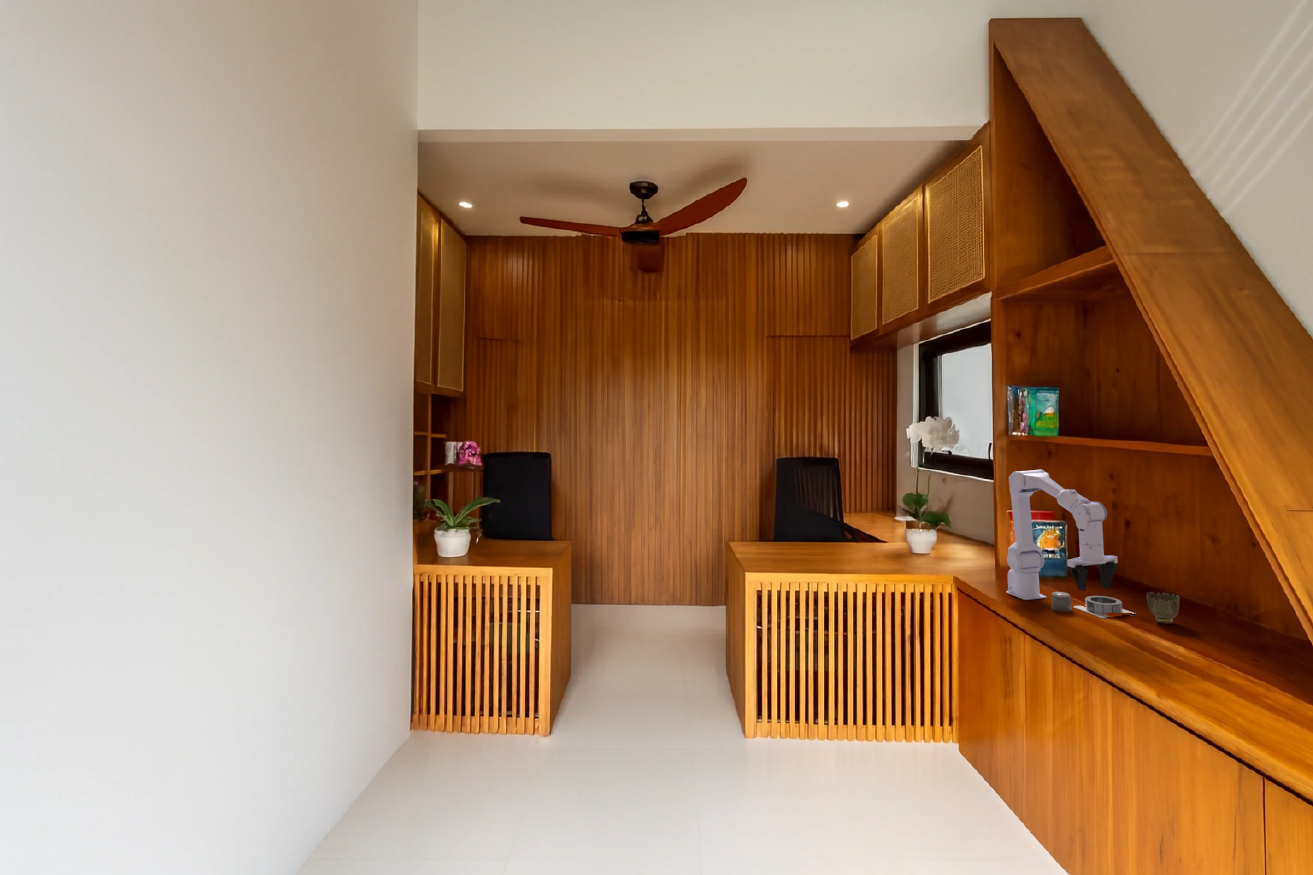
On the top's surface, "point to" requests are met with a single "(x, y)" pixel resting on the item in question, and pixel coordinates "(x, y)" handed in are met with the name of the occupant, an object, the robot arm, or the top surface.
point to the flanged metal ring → (1102, 606)
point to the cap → (1061, 602)
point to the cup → (1163, 606)
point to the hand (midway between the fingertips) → (1093, 588)
